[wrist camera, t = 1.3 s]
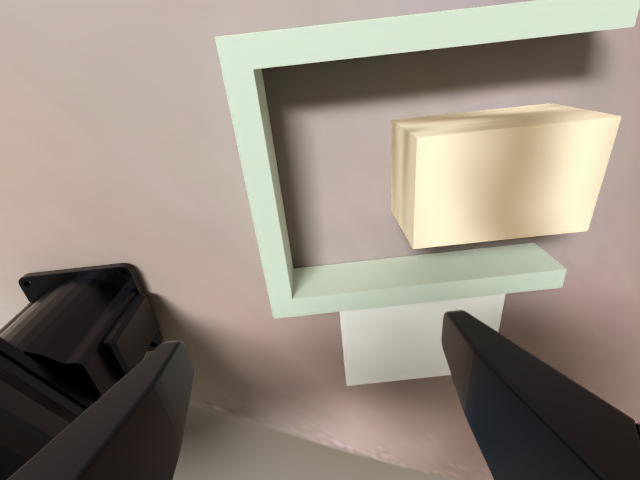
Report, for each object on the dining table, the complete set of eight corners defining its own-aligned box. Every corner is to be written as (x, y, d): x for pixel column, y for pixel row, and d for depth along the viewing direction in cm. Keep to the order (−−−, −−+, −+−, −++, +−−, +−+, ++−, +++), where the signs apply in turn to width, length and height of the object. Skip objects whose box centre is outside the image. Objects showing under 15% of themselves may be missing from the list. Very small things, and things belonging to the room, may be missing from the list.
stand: (344, 368, 25) (346, 385, 24) (337, 290, 22) (339, 305, 21) (481, 354, 25) (491, 370, 24) (494, 273, 22) (506, 287, 21)
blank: (390, 210, 20) (412, 248, 16) (390, 119, 18) (416, 137, 14) (530, 196, 20) (587, 231, 16) (549, 102, 18) (621, 116, 14)
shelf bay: (277, 286, 22) (273, 318, 19) (229, 40, 15) (214, 36, 13) (529, 259, 22) (561, 287, 19) (585, 0, 15) (644, -12, 13)
